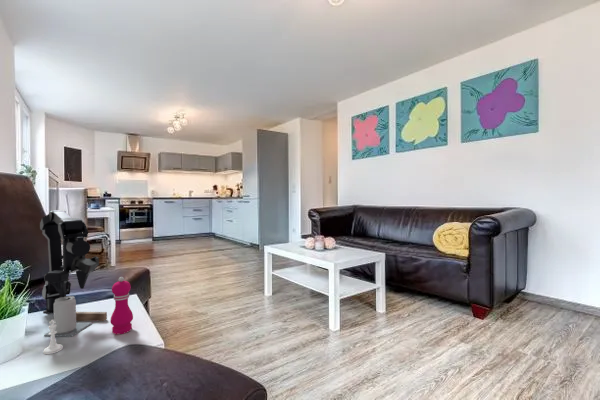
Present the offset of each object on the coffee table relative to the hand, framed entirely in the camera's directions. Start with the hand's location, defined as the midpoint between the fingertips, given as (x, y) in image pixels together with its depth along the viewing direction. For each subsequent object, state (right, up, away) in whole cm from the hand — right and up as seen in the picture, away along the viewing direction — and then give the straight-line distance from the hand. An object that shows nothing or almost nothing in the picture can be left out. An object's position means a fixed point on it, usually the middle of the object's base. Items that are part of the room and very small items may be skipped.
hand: (72, 292), depth 116 cm
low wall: (0, -13, +5) cm, 13 cm away
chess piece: (+7, -13, -18) cm, 23 cm away
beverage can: (+2, -13, -6) cm, 14 cm away
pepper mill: (+21, -13, -4) cm, 25 cm away
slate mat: (+1, -13, -4) cm, 13 cm away
